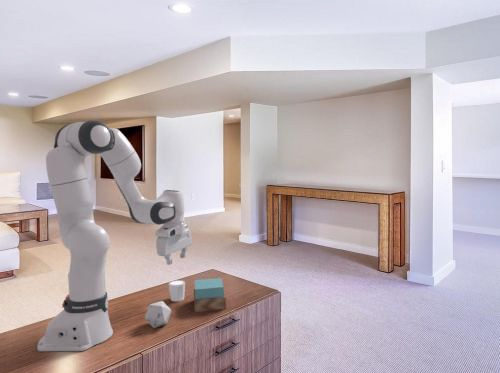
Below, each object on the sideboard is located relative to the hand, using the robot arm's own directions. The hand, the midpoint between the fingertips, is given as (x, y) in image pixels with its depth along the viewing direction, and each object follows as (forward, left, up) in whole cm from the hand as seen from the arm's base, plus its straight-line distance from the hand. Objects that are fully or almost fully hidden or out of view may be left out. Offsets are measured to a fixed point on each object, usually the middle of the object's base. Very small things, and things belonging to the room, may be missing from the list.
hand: (176, 260), depth 151 cm
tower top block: (+13, -9, -12) cm, 19 cm away
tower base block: (+13, -9, -17) cm, 23 cm away
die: (-6, -23, -17) cm, 29 cm away
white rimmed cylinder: (0, 0, -17) cm, 17 cm away
